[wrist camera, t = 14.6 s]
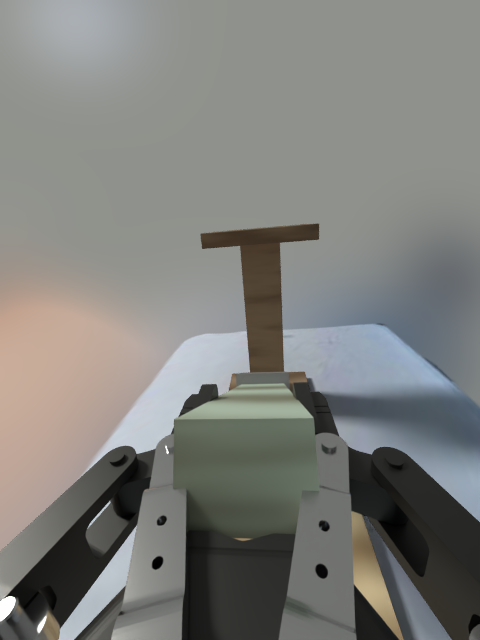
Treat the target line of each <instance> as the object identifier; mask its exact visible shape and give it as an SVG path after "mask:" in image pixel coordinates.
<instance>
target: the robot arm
mask: <svg viewBox="0 0 480 640" xmlns="http://www.w3.org/2000/svg"><path fill="white" fill-rule="evenodd" d="M293 396H294V397H295V399H296V400H299V402H300V403H301V404H302V405H303V406H304V407H305V408H306V410H307V411H308V412H309V413H310V414H311V415H312V417H313V418H314V427H315V440H316V452H317V465H318V478H319V491H307V490H302V495H301V502H300V509H299V516H298V523H297V529H296V534H279V533H273V534H269V535H266V536H262V537H258V538H254V539H250V540H246V541H241V540H237V539H235V538H232V537H229V536H226V535H223V534H220V533H217V532H214V531H196V530H189V521H190V515H189V506H188V497H187V488H173V458H174V428H173V430H172V433H171V435H168V436H166V437H165V438H163V439H162V440H161V441H160V442H159V443H158V444H157V447H156V449H154V450H151V451H148V452H144V453H140V454H136V452H135V449H134V448H132V447H130V446H121V447H118V448H115V449H113V450H111V451H110V452H108V453H107V454H106V455H105V456H104V457H102V458H101V459H100V460H99V461H98V462H97V463H96V464H95V465H94V466H93V467H92V468H90V469H89V470H88V471H87V472H86V473H85V474H84V475H83V476H82V477H81V478H80V479H79V480H77V481H76V482H75V483H74V484H73V485H72V486H71V487H70V488H69V489H68V490H67V491H65V492H64V493H63V494H62V495H61V496H60V497H59V498H58V499H57V500H56V501H55V502H53V503H52V504H51V505H50V506H49V507H48V508H47V509H46V510H45V511H44V512H43V513H42V514H40V516H38V517H37V518H36V519H35V520H34V521H33V522H32V523H31V524H30V525H28V526H27V527H26V528H25V529H24V530H23V531H22V532H21V533H20V534H19V535H18V536H16V537H15V538H14V539H13V540H12V541H11V542H10V543H9V544H8V545H7V546H6V547H5V548H4V549H2V550H1V551H0V640H58V639H59V633H60V628H61V627H62V626H63V624H64V623H65V622H66V620H67V619H68V617H69V616H70V615H71V613H72V612H73V611H74V609H75V608H76V607H77V605H78V604H79V603H80V601H81V600H82V599H83V597H84V596H85V594H86V593H87V592H88V590H89V589H90V588H91V586H92V585H93V584H94V582H95V581H96V580H97V578H98V577H99V575H100V574H101V573H102V571H103V570H104V569H105V567H106V566H107V565H108V563H109V562H110V561H111V559H112V558H113V557H114V555H115V554H116V552H117V551H118V550H119V548H120V547H121V546H122V544H123V543H124V542H125V540H126V539H127V538H128V536H129V535H130V534H131V532H132V531H133V529H134V528H135V527H136V525H137V529H136V534H135V539H134V545H133V550H132V556H131V561H130V567H129V572H128V578H127V583H126V586H125V587H124V588H123V589H122V590H121V591H120V592H119V593H118V594H117V595H116V596H115V597H114V598H113V600H112V601H111V602H110V603H109V604H108V605H107V606H106V607H105V608H104V609H103V610H102V611H101V612H100V613H99V614H98V615H97V616H96V617H95V618H94V619H93V621H92V622H91V623H90V624H89V625H88V626H87V627H86V628H85V629H84V630H83V631H82V632H81V633H80V634H79V635H78V636H77V637H76V638H75V639H74V640H399V639H398V637H397V636H396V635H395V634H394V632H393V631H392V630H391V629H390V628H389V626H388V625H387V624H386V623H385V621H384V620H383V619H382V618H381V617H380V615H379V614H378V613H377V612H376V610H375V609H374V608H373V607H372V605H371V604H370V603H369V602H368V601H367V599H366V598H365V597H364V596H363V594H362V593H361V592H360V591H359V590H358V588H357V587H356V586H355V585H354V575H353V545H352V514H351V511H353V512H356V513H359V514H362V515H365V516H368V518H369V520H370V522H371V523H372V525H373V526H374V528H375V529H376V530H377V532H378V533H379V535H380V536H381V538H382V539H383V541H384V542H385V543H386V545H387V546H388V548H389V549H390V551H391V552H392V553H393V555H394V556H395V558H396V559H397V561H398V562H399V564H400V565H401V566H402V568H403V569H404V571H405V572H406V574H407V575H408V577H409V578H410V579H411V581H412V582H413V584H414V585H415V587H416V588H417V590H418V591H419V592H420V594H421V595H422V597H423V598H424V600H425V601H426V603H427V604H428V605H429V607H430V608H431V610H432V611H433V613H434V614H435V616H436V617H437V618H438V620H439V621H440V623H441V624H442V626H443V627H444V629H445V630H446V631H447V633H448V634H449V636H450V637H451V639H452V640H480V522H479V521H478V520H477V519H476V518H475V517H473V516H472V515H471V514H470V513H469V512H468V511H467V510H466V509H465V508H464V507H463V506H462V505H461V504H460V503H458V502H457V501H456V500H455V499H454V498H453V497H452V496H451V495H450V494H449V493H448V492H447V491H446V490H445V489H443V488H442V487H441V486H440V485H439V484H438V483H437V482H436V481H435V480H434V479H433V478H432V477H431V476H430V475H429V474H427V473H426V472H425V471H424V470H423V469H422V468H421V467H420V466H419V465H418V464H417V463H416V462H415V461H414V460H412V459H411V458H410V457H409V456H408V455H407V454H405V453H404V452H402V451H400V450H398V449H395V448H391V447H380V448H377V449H376V450H374V452H373V454H372V455H371V454H367V453H363V452H359V451H356V450H354V449H352V448H350V447H348V446H347V444H346V442H345V441H344V440H343V439H342V438H341V437H339V434H338V431H337V428H336V426H335V423H334V420H333V417H332V414H331V412H330V409H329V407H328V403H327V400H326V398H325V397H324V396H323V395H322V394H321V393H320V392H310V389H309V385H308V382H293ZM218 397H219V396H218V388H217V385H216V384H204V385H202V386H201V389H200V391H199V394H192V395H191V396H190V397H189V398H188V399H187V400H186V401H185V403H184V406H183V409H182V410H181V412H180V415H179V417H180V416H182V415H184V414H186V413H188V412H190V411H191V410H193V409H195V408H197V407H199V406H201V405H203V404H205V403H207V402H210V401H212V400H214V399H216V398H218ZM109 501H110V502H111V503H110V504H109V506H108V507H107V508H106V509H105V510H104V511H103V512H102V513H101V515H100V516H99V517H98V518H97V519H96V520H95V521H94V522H93V524H92V525H91V526H90V527H89V528H88V526H89V524H90V522H91V521H92V520H93V519H94V518H95V516H96V515H97V514H98V513H99V512H100V511H101V510H102V509H103V508H104V506H105V505H106V504H107V503H108V502H109ZM87 528H88V529H87Z"/></svg>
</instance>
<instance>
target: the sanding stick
mask: <svg viewBox="0 0 480 640" xmlns="http://www.w3.org/2000/svg"><path fill="white" fill-rule="evenodd" d="M173 488H187V497H188V506H189V515H190V521H189V530H196V531H214V532H217V533H220V534H223V535H226V536H229V537H232V538H247V539H254V538H258V537H262V536H266V535H269V534H273V533H279V534H296V529H297V523H298V516H299V509H300V502H301V495H302V490H307V491H319V478H318V465H317V452H316V440H315V427H314V418H313V417H312V415H311V414H310V413H309V412H308V411H307V410H306V408H305V407H304V406H303V405H302V404H301V403H300V402H299V400H296V399H295V397H294V396H293V393H292V392H291V391H290V389H289V373H288V372H253V373H239V374H236V388H234V389H232V390H230V391H228V392H226V393H224V394H222V395H220V396H219V397H218V398H216V399H214V400H212V401H210V402H207V403H205V404H203V405H201V406H199V407H197V408H195V409H193V410H191V411H190V412H188V413H186V414H184V415H182V416H180V417H178V418H176V419H174V458H173Z"/></svg>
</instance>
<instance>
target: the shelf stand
mask: <svg viewBox="0 0 480 640" xmlns="http://www.w3.org/2000/svg"><path fill="white" fill-rule="evenodd" d="M318 239H319V224H301V225H290V226H278V227H267V228H256V229H243V230H232V231H221V232H212V233H204V234H201V242H202V249H205V248H217V247H230V246H240V249H241V262H242V275H243V286H244V300H245V312H246V324H247V337H248V350H249V363H250V373H253V372H284V360H283V329H282V300H281V269H280V268H281V266H280V243H281V242H293V241H305V240H318ZM288 373H289V389H290V391H291V392H292V393H293V382H307V378H306V375H305V372H288ZM234 388H236V374H232V378H231V382H230V387H229V391H230V390H232V389H234Z"/></svg>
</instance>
